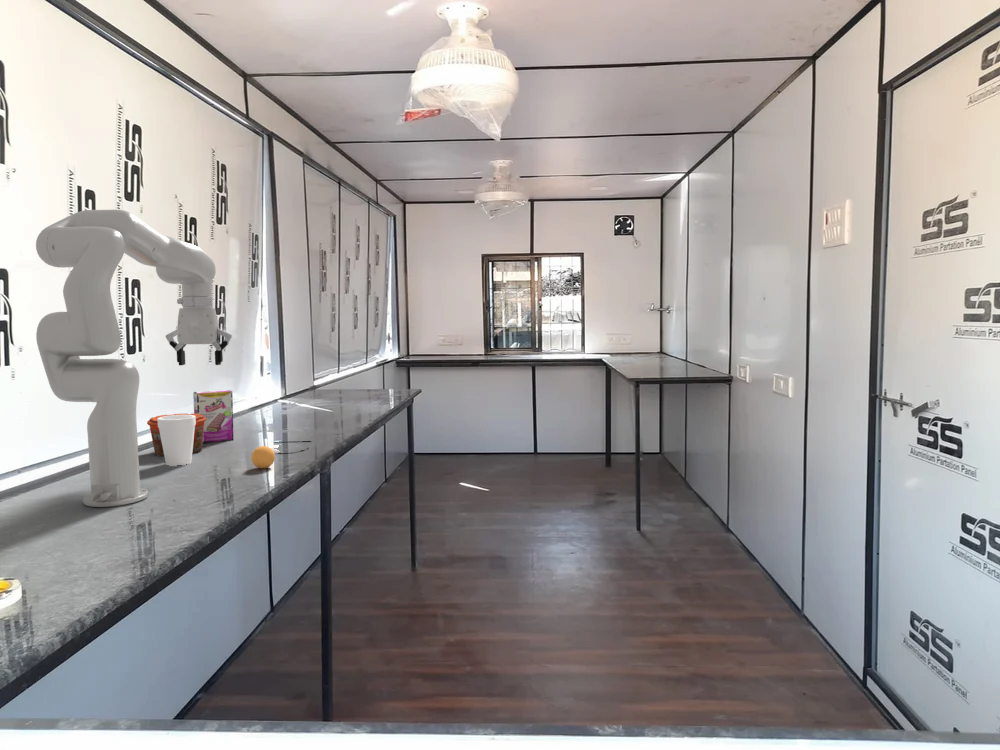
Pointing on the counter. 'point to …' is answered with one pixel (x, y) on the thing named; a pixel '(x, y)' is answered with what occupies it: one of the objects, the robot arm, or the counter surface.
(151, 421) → the food container
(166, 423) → the foam cup
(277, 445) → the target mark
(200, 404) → the candy bar box
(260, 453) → the ball
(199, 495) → the counter surface
